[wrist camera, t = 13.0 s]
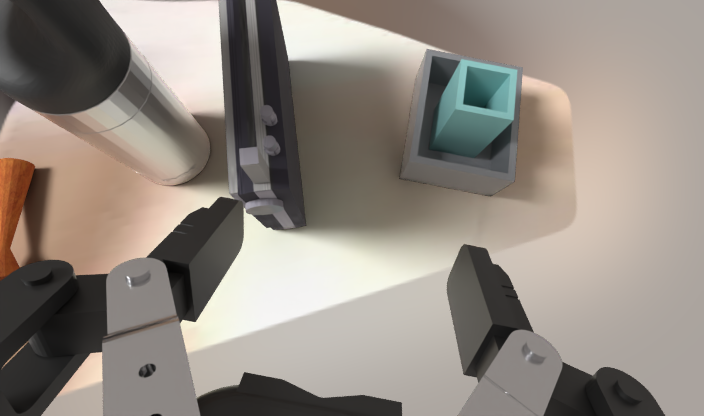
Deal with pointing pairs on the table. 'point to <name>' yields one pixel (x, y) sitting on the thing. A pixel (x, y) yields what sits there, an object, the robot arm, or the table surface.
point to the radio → (260, 114)
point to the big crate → (448, 169)
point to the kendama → (11, 207)
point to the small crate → (473, 108)
